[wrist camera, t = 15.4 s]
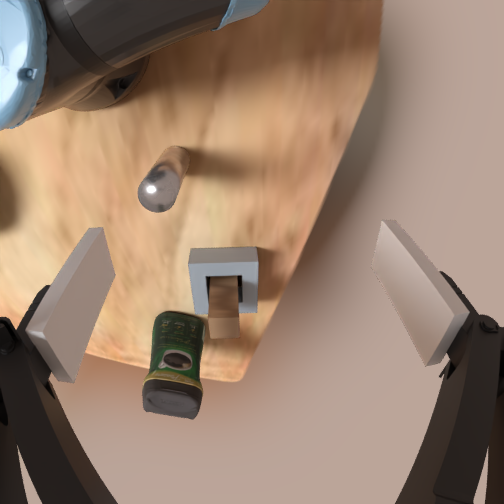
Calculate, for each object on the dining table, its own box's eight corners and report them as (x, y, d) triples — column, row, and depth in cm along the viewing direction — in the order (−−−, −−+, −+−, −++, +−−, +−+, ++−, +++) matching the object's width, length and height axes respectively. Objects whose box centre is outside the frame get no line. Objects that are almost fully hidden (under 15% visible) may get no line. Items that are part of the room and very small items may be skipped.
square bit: (212, 284, 52) (210, 338, 42) (211, 264, 49) (207, 318, 39) (237, 283, 52) (239, 337, 42) (236, 263, 50) (239, 317, 40)
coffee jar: (152, 334, 58) (137, 417, 42) (157, 305, 54) (138, 394, 38) (200, 344, 60) (196, 427, 44) (209, 317, 56) (206, 406, 40)
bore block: (196, 298, 53) (195, 314, 50) (190, 248, 48) (188, 263, 44) (255, 296, 54) (257, 312, 50) (256, 246, 48) (258, 261, 45)
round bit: (162, 175, 41) (140, 213, 31) (159, 147, 39) (135, 177, 29) (190, 173, 41) (178, 211, 31) (189, 145, 39) (174, 174, 29)
